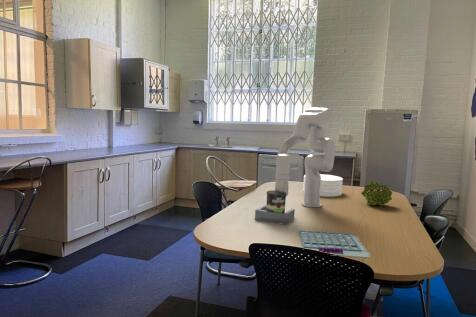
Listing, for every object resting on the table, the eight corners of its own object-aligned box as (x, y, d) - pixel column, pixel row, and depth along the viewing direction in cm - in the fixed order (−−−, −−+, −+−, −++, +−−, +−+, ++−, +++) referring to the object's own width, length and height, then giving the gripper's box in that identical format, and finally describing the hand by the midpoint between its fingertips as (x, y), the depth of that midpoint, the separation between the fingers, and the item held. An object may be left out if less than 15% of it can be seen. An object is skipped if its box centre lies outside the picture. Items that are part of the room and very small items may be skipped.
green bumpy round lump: (382, 194, 243) (397, 182, 230) (383, 214, 234) (398, 202, 221) (358, 185, 242) (372, 172, 229) (357, 204, 232) (372, 192, 219)
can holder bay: (265, 213, 202) (265, 204, 201) (294, 218, 194) (294, 209, 194) (254, 219, 190) (255, 209, 189) (285, 224, 182) (286, 214, 182)
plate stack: (295, 189, 274) (296, 174, 273) (325, 187, 286) (326, 173, 285) (318, 197, 249) (319, 181, 248) (350, 195, 261) (351, 179, 260)
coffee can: (287, 220, 189) (288, 194, 187) (268, 221, 187) (269, 194, 185) (281, 215, 199) (282, 190, 197) (263, 215, 197) (264, 190, 195)
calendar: (356, 236, 169) (357, 231, 169) (374, 259, 142) (374, 253, 141) (298, 233, 172) (299, 228, 171) (304, 254, 144) (304, 249, 144)
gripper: (281, 174, 206) (279, 205, 208) (271, 177, 193) (269, 211, 195) (293, 175, 203) (292, 207, 205) (284, 179, 189) (282, 213, 191)
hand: (281, 209), depth 200 cm, fingers closed
